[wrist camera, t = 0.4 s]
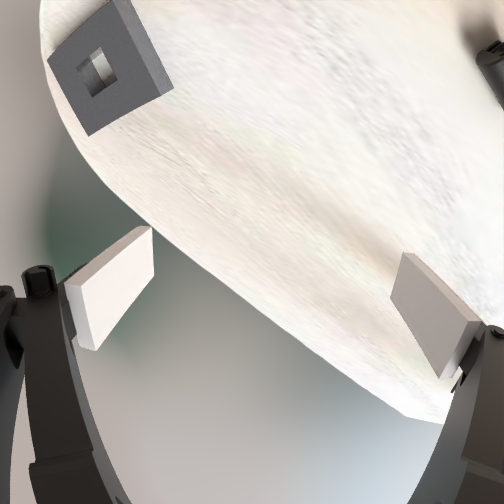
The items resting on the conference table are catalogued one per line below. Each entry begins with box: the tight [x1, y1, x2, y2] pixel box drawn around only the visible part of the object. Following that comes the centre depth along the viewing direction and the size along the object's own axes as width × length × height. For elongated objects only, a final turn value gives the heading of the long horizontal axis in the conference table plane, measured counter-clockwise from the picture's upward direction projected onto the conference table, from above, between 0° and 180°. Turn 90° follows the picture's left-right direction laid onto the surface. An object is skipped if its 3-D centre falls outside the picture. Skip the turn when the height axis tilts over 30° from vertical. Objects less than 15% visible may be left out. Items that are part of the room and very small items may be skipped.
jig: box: [47, 0, 174, 137], centre depth 36 cm, size 18×18×4 cm
